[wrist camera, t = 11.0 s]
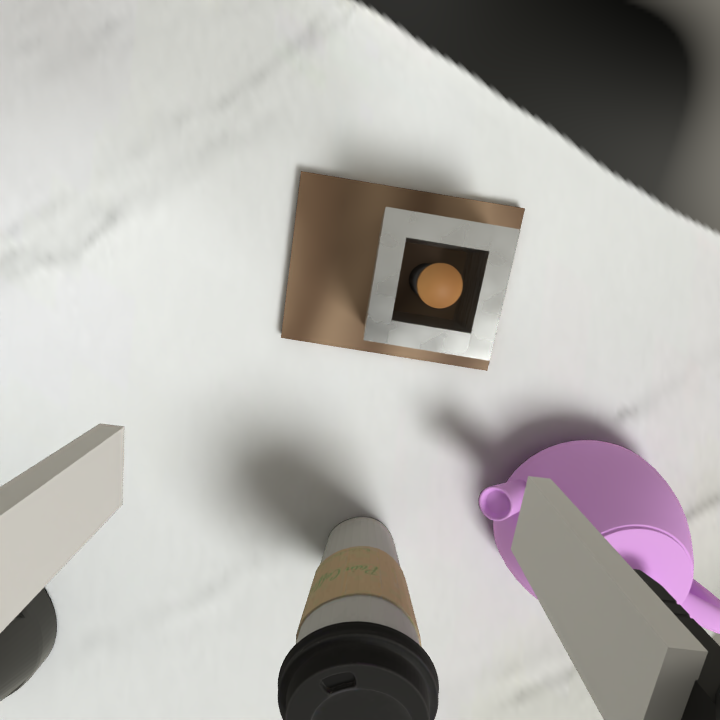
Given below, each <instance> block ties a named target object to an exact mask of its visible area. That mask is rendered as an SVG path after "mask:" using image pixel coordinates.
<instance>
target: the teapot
mask: <svg viewBox="0 0 720 720" xmlns="http://www.w3.org/2000/svg"><path fill="white" fill-rule="evenodd" d="M528 476H533V477H541V478H549V479H551V480H552V481H553V482H554V483H555V484H556V485H557V486H558V487H559V488H560V489H561V491H562V492H563V493H564V494H565V495H566V496H567V497H568V498H569V499H570V500H571V501H572V503H573V504H574V505H575V506H576V507H577V508H578V509H579V510H580V511H581V512H582V514H583V515H584V516H585V517H586V518H587V519H588V520H589V521H590V522H591V523H592V525H593V526H594V527H595V528H596V529H597V530H598V531H599V532H600V533H601V534H602V536H603V537H604V538H605V539H606V540H607V541H608V542H609V543H610V544H611V545H612V547H613V548H614V549H615V550H616V551H617V552H618V553H619V554H620V555H621V556H622V558H623V559H624V560H625V561H626V562H627V563H628V564H629V565H630V566H631V567H632V569H638V570H641V571H642V572H644V573H645V574H647V575H648V576H649V577H651V578H652V579H654V580H655V581H657V582H658V583H659V584H661V585H662V586H663V587H664V588H665V589H666V590H667V592H668V593H669V594H670V595H671V596H672V597H673V598H674V599H675V600H676V601H677V604H680V605H681V606H682V607H683V608H684V609H685V610H686V611H687V613H688V614H689V615H690V618H693V619H694V620H695V621H696V622H697V623H698V624H699V625H700V626H702V627H704V628H706V629H708V630H711V631H713V632H716V633H719V634H720V600H719V599H718V598H717V597H715V596H714V595H713V594H712V593H711V592H709V591H708V590H707V589H706V588H704V587H703V586H702V585H701V584H699V583H698V582H697V581H695V580H694V579H693V570H694V559H693V550H692V542H691V535H690V531H689V527H688V523H687V520H686V517H685V514H684V512H683V509H682V507H681V505H680V503H679V501H678V499H677V497H676V496H675V494H674V492H673V491H672V489H671V488H670V486H669V485H668V483H667V482H666V481H665V480H664V479H663V478H662V476H661V475H660V474H659V473H658V472H657V471H656V469H655V468H653V467H652V466H651V465H650V464H649V463H648V462H646V461H645V460H644V459H643V458H641V457H640V456H639V455H637V454H635V453H634V452H632V451H631V450H628V449H626V448H624V447H622V446H619V445H616V444H612V443H609V442H602V441H596V440H577V441H569V442H564V443H560V444H557V445H554V446H551V447H548V448H546V449H544V450H542V451H540V452H538V453H537V454H535V455H533V456H532V457H530V458H529V459H528V460H526V461H525V462H524V463H523V464H521V465H520V466H519V467H518V468H517V469H516V470H515V471H514V472H513V474H512V475H511V476H510V478H509V479H508V480H507V482H506V483H502V484H498V485H494V486H490V487H487V488H485V489H484V490H483V491H482V492H481V494H480V496H479V507H480V509H481V511H482V513H483V514H484V515H485V516H486V517H487V518H489V519H491V520H493V527H494V537H495V542H496V545H497V548H498V550H499V552H500V554H501V556H502V558H503V560H504V562H505V564H506V566H507V567H508V568H509V570H510V571H511V572H512V574H513V575H514V576H515V578H516V579H517V580H518V581H519V582H520V583H521V584H522V586H523V587H524V588H525V589H526V590H527V591H528V592H529V593H530V594H532V595H533V596H534V597H535V598H537V596H536V595H535V593H534V591H533V589H532V587H531V586H530V584H529V582H528V580H527V578H526V576H525V575H524V573H523V571H522V569H521V567H520V565H519V564H518V562H517V560H516V558H515V556H514V554H513V553H512V551H511V546H512V542H513V537H514V533H515V529H516V525H517V521H518V516H519V512H520V508H521V504H522V500H523V496H524V491H525V487H526V483H527V479H528ZM537 599H538V598H537Z"/></svg>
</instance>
